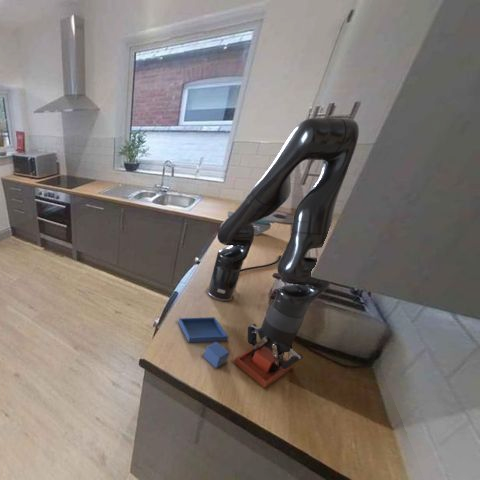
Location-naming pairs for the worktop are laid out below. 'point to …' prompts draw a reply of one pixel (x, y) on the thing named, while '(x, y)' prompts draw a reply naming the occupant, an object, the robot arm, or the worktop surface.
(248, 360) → the rust tray
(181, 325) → the blue tray
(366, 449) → the worktop surface
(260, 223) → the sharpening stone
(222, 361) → the blue block
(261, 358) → the rust block
